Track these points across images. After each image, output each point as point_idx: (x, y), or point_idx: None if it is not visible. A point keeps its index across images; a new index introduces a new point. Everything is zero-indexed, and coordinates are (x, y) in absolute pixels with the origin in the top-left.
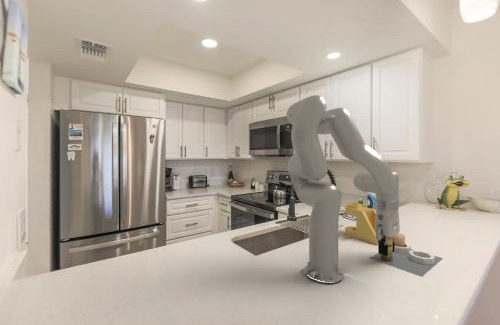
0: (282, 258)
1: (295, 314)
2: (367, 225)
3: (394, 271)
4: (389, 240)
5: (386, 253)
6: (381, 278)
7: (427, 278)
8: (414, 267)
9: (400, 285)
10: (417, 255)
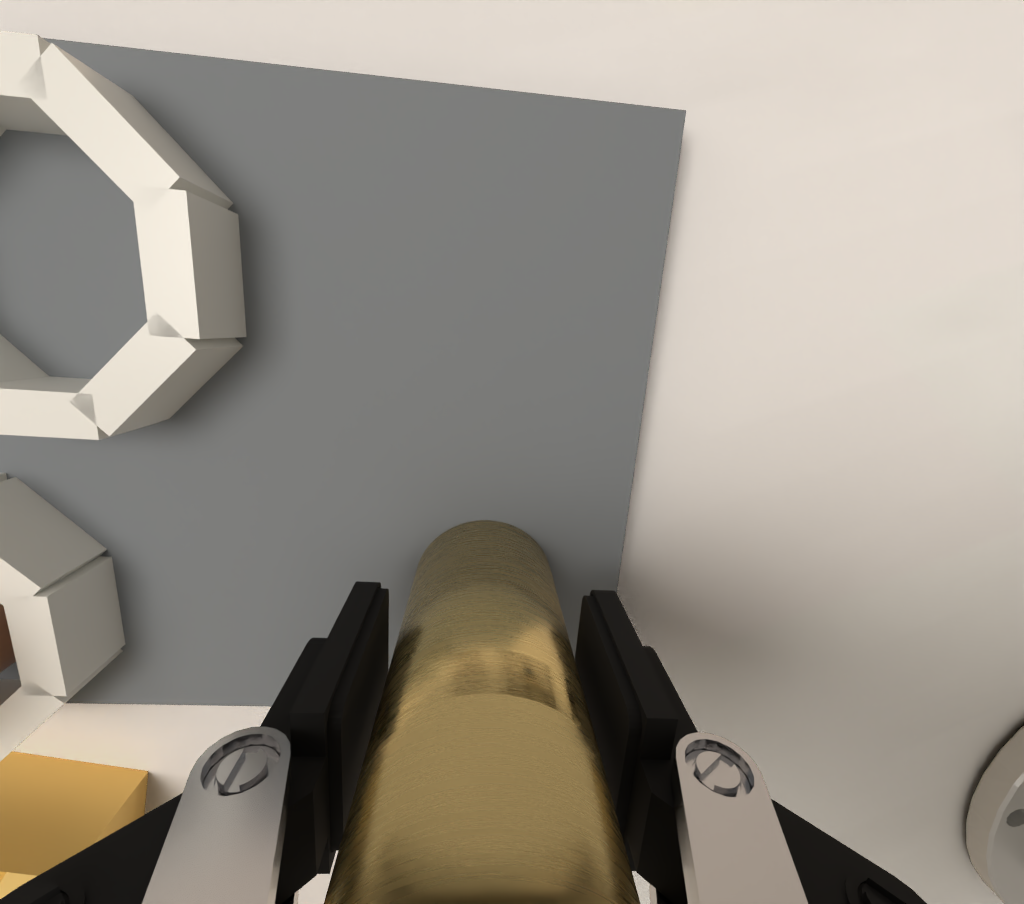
0: None
1: None
2: None
3: (649, 428)
4: (584, 809)
5: (620, 618)
6: (901, 461)
7: (561, 90)
8: (458, 263)
9: (942, 279)
10: None
